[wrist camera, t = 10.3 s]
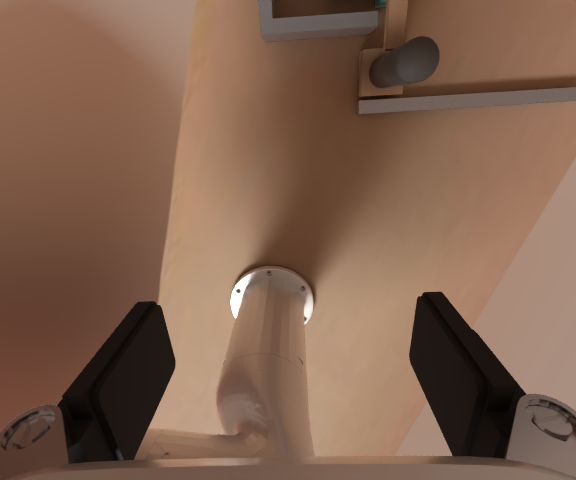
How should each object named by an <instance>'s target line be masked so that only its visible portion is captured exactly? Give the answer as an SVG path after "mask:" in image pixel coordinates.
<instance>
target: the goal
mask: <svg viewBox="0 0 576 480" xmlns="http://www.w3.org/2000/svg"><path fill="white" fill-rule="evenodd" d="M258 1H259V14H260V27H261V35H262V37H263V39H264V42H272V41H286V40H300V39H314V38H328V37H342V36H357V35H369V34H370V33H371V32H372V31H373V30H374V29H375V28H376V27H378V18H379V11H368V12H355V13H341V14H328V15H314V16H301V17H287V18H274V5H273V0H258Z"/></svg>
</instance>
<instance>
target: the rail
mask: <svg viewBox="0 0 576 480" xmlns="http://www.w3.org/2000/svg"><path fill="white" fill-rule="evenodd" d="M566 101H576V87H569V88H553V89H537V90H521V91H505V92H489V93H473V94H457V95H441V96H425V97H409V98H393V99H377V100H361V101H357V114H369V113H385V112H402V111H418V110H435V109H451V108H467V107H484V106H500V105H517V104H533V103H550V102H566Z"/></svg>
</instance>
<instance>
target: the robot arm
mask: <svg viewBox="0 0 576 480" xmlns="http://www.w3.org/2000/svg"><path fill="white" fill-rule="evenodd" d="M269 271H271V272H269ZM230 304H231V310H232V312H233V315H234V317H235V318H236V319H235V323H234V327H233V330H232V334H231V338H230V341H229V345H228V349H227V352H226V356H225V360H224V363H223V367H222V371H221V375H220V378H219V382H218V386H217V391H216V409H217V415H218V418H219V421H220V424H221V427H222V429H223V432H224V434H225V435H220V434H218V435H212V434H203V433H194V432H185V431H176V430H168V429H167V430H166V429H156V428H148V427H149V425H150V423H151V421H152V418H153V416H154V414H155V412H156V410H157V407H158V405H159V403H160V401H161V398H162V396H163V394H164V392H165V390H166V387H167V385H168V383H169V381H170V379H171V376H172V374H173V372H174V369H175V357H174V353H173V349H172V346H171V342H170V338H169V334H168V330H167V327H166V323H165V319H164V315H163V311H162V308H161V306H160V305H157V304H156V302H154V301H150V302H137V304H135V305H134V307H133V308H132V309H131V311H130V312H129V313H128V314H127V315H126V317H125V318H124V319H123V320H122V322H121V323H120V324H119V326H118V327H117V328H116V329H115V331H114V332H113V333H112V334H111V335H110V337H109V338H108V339H107V340H106V342H105V343H104V344H103V345H102V347H101V348H100V349H99V351H98V352H97V353H96V354H95V356H94V357H93V358H92V359H91V361H90V362H89V363H88V364H87V366H86V367H85V368H84V369H83V371H82V372H81V373H80V374H79V376H78V377H77V378H76V379H75V381H74V382H73V383H72V384H71V386H70V387H69V388H68V389H67V391H66V392H65V393H64V394H63V396H62V397H63V399H62V400H61V401H60V402H59V404H58V405H57V406H56V405H51V404H46V405H42V406H38V407H35V408H32V409H30V410H28V411H26V412H24V413H22V414H21V415H19V416H17V417H16V418H15V419H13V420H12V421H11V422H10V423H8V424H7V425H6V426H5V427H4V428H3V429H2V430H1V431H0V480H576V411H575V410H573V409H572V408H571V407H569V406H568V405H566V404H564V403H562V402H560V401H558V400H557V399H554V398H551V397H548V396H545V395H540V394H526V393H525V392H524V391H523V389H521V387H520V386H519V385H518V383H517V382H516V381H515V380H514V378H513V377H512V376H511V375H510V373H509V372H508V371H507V370H506V369H505V367H504V366H503V365H502V364H501V362H500V361H499V360H498V359H497V357H496V356H495V355H494V354H493V352H492V351H491V350H490V349H489V347H488V346H487V345H486V344H485V342H484V341H483V340H482V339H481V338H480V336H479V335H478V334H477V333H476V332H475V331H474V330H472V329H471V328H470V327H469V325H468V324H467V323H466V322H465V320H464V319H463V318H462V317H461V315H460V314H459V313H458V312H457V310H456V309H455V308H454V307H453V305H452V304H451V303H450V302H449V300H448V299H447V298H446V297H445V295H444V294H443V293H442V292H424V293H423V294H422V296H419V297H418V298H417V304H416V311H415V318H414V325H413V332H412V339H411V346H410V353H409V357H410V362H411V365H412V367H413V370H414V372H415V374H416V376H417V378H418V381H419V383H420V385H421V387H422V389H423V392H424V394H425V396H426V398H427V400H428V402H429V405H430V407H431V409H432V411H433V413H434V415H435V418H436V420H437V422H438V424H439V427H440V429H441V431H442V433H443V435H444V438H445V440H446V442H447V444H448V446H449V449H450V451H451V453H452V455H453V456H333V457H315V455H314V450H313V443H312V437H311V430H310V421H309V408H308V390H307V367H306V346H305V324H306V323H307V322H308V321H309V319H310V317H311V315H312V312H313V307H314V300H313V294H312V290H311V288H310V286H309V285H308V283H307V282H306V281H305V280H304V278H302V277H301V276H300V275H299V274H297V273H296V272H294V271H292V270H290V269H287V268H284V267H279V266H263V267H258V268H255V269H253V270H250V271H249V272H247V273H245V274H244V275H243V276H242V277H241V278H239V280H238V281H237V283H236V284H235V286H234V288H233V291H232V294H231V301H230Z"/></svg>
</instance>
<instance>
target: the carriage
mask: <svg viewBox="0 0 576 480" xmlns="http://www.w3.org/2000/svg"><path fill="white" fill-rule="evenodd" d="M381 7H386V12H385V28H384V45H383V48H374V49H363V50H362V51H360V52H359V80H358V97H364V96H380V95H396V94H403V85H404V84H410V83H416V82H421V81H423V80H425V79H427V78H428V77H430V76H431V75H432V74H433V72H434V71H435V69H436V67H437V65H438V62H439V49H438V46H437V44H436V43H435V42H434V41H433V40H432V39H431V38H429V37H425V36H420V37H416V38H414V39H412V40H410V41H408V42H406V43H405V32H406V21H407V9H408V0H375V8H381Z"/></svg>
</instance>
